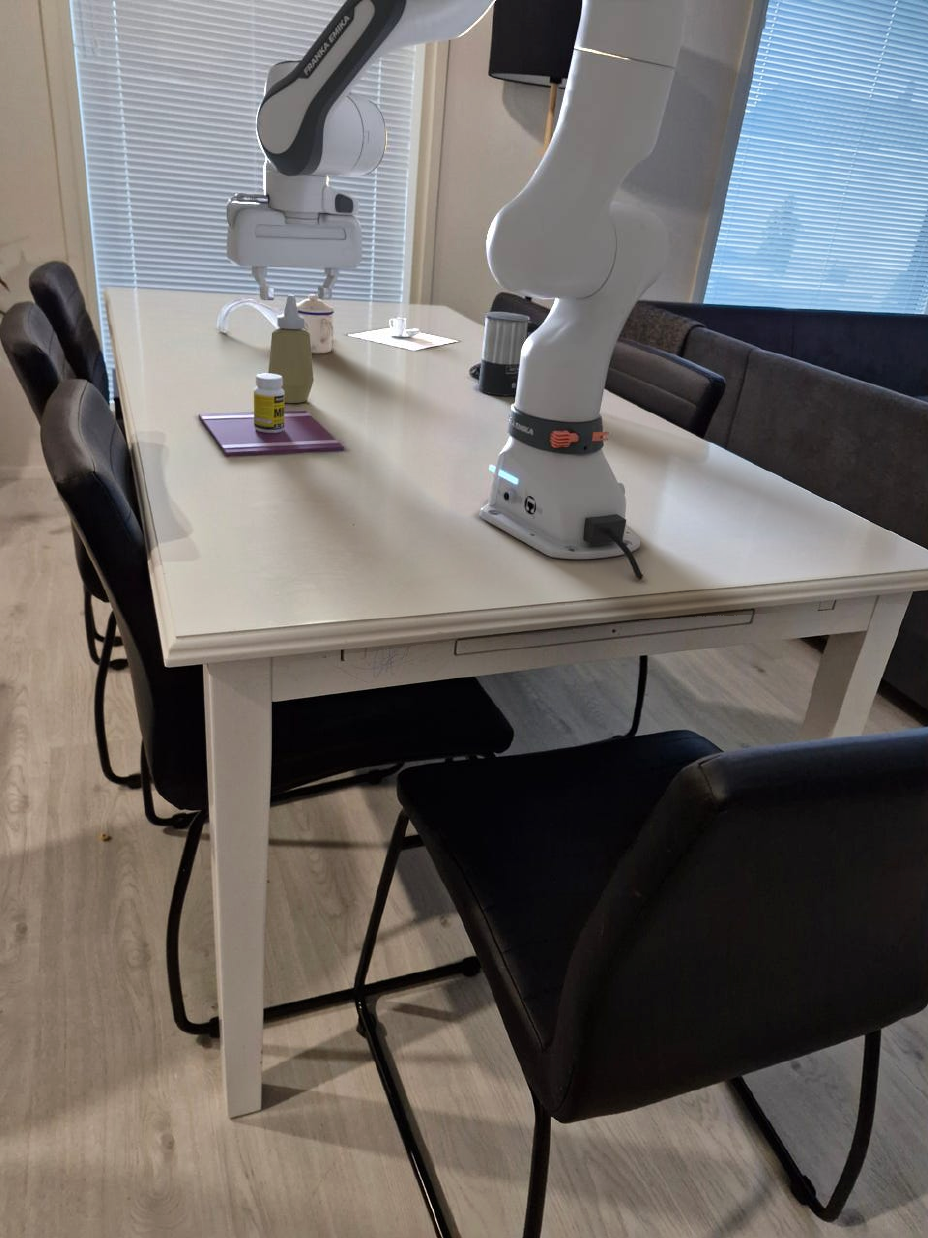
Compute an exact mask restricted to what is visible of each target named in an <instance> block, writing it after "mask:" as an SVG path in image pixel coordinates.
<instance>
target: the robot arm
mask: <svg viewBox="0 0 928 1238" xmlns="http://www.w3.org/2000/svg"><path fill="white" fill-rule="evenodd" d="M495 1H496V0H345V1H344V3H343V5H342V6H341V7H340V8H339V10H337V12H336V13H335V15H333V17H332V19H331V20H330V21H329V23H328V24H327V26H325V28H324V29H323V30H322V32H321V33H320V35H319V36H318V37H317V38H316V40H315V41H314V43H313V44H312V45H311V46H310V47H309V49H308V50H307V52H306V53H305V55H304V56H303V57H302V59H299V60H284V61H281V62H280V61H279V62H278V63H275V64H274V65H273V66H271V67H270V68H269V70H268V72H267V74H266V78H265V84H264V90H263V98H262V100H261V102H260V104H259V107H258V110H257V115H256V120H255V130H256V136H257V141H258V143H259V146H260V148H261V150H262V153H263V154H264V156H265V162H264V165H263V190H264V191H263V193H264V194H261V193H260V194H259V193H253V194H248V193H244V192H243V193H242V192H240V193H236V194H235V196H232V197H231V198H230V199H228V202H227V203H226V209H225V210H226V221H227V223H228V226H227V235H226V257H227V259H228V260H229V262H230V263H231V264H232V265H233V266H238V267H241V268H243V267H246V268H251V275H252V276H253V278H254V280H255V281H256V284H257V285H258V287H259V298H260V300H262V301H274V300H275V295H274V294H275V287H274V286H273V287H272V286H270V285H269V284H268V283H267V280H266V278H265V276H267V275H268V268H314V269H315V268H321V269H323V271H324V272H323V273H324V274H325V275H326V277H325V279H324V281H323V283H322V285H317V292H318V293H317V296H318V300H321V301H331V300H332V298H333V288H334V286H335V284H336V283H337V281H338V279H339V277H340V269H357V268H358V267H359V266H360V264H361V262H362V259H363V233H362V225H361V223H360V221H359V219H358V218H357V216H355V215H358V214H359V211H360V200H358V199H357V198H355V197H353V196H351V195H349V194H347V193H344V192H343V191H341V190H339V189H336V188H334V187H332V186H330V185H329V176H333V177H338V176H339V177H340V176H341V177H342V176H343V177H359V176H360V177H361V176H364V175H369V174H371V173H372V172H374V171H375V170H376V169H377V168H378V167H379V165H380V164H381V162H382V160H383V158H384V155H385V153H386V150H387V149H386V148H387V142H388V141H387V139H388V134H387V133H388V131H387V126H386V122H385V119H384V116H383V114H382V112H381V110H380V108H379V107H378V106H377V104H375V103H374V102H373V101H372V100H369V99H367V98H365V97H363V96H361V95H359V94H357V93H355V92H352V90H353V89H354V88H355V86H356V85H357V84H358V83H359V82H360V80H361V79H362V78H363V77H364V75H365V74H366V73H367V72H368V70H369V69H370V68H371V67H372V66H373V65H374V64H375V63H377V61H379V60H380V59H382V58H383V57H385V56H386V55H388V54H390V53H393V52H395V51H398V50H400V49H403V48H406V47H408V48H409V47H411V46H417V45H420V44H422V45H423V44H429V43H436V42H445V41H450V40H454V39H457V38H460V37H461V36H463V35H465V33H467V32H468V31H469V30H471V29H472V28H473V27H474V26H475V25H476V24H477V23H478V22H479V21H481V19H482V18H483V17H484V16H485V15H486V14H487V12H488V11H489V10H490V8H491V7H492V6H493V4H494V3H495ZM581 5H582V6H581V14H580V20H579V25H578V29H577V34H576V39H575V42H574V49H573V53H572V58H571V62H570V67H569V72H568V77H567V80H566V81H567V82H566V86H565V90H564V93H563V98H562V103H561V106H560V107H561V108H560V111H559V115H558V120H557V123H556V125H555V129H554V131H553V135H552V138H551V140H550V142H549V145H548V146H547V149H546V151H545V153H544V154H543V157H542V159H541V161H540V163H539V165H538V166H537V168H536V170H535V171H534V173H533V175H532V176H531V177H530V180H529V181H528V182H527V183H526V184H525V186H524V187H523V188H522V190H520V192H519V193H518V194H517V195H516V196H515V197H514V198H513V199H512V200H510V201H509V202H508V203H506V204H505V205H504V206H502V207H501V208H500V209H499V211H498V212H497V214H496V215H495V216H494V218H493V220H492V222H491V224H490V227H489V230H488V234H487V239H486V258H487V263H488V267H489V270H490V272H491V274H492V277H493V278H494V280H495V281H496V283H497V284H498V285H499V286H500V287H501V288H502V289H503V290H506V291H508V292H510V293H513V294H518V295H520V296H523V297H528V298H532V299H536V300H554V302H553V305H552V307H551V309H550V311H549V313H548V315H547V317H546V318H545V320H544V321H543V322H542V324H541V325H540V326H539V328H538V329H537V330H536V331H534V332H533V333H532V334H531V335H530V336H529V335H528V337H526V341H525V343H524V345H523V348H522V351H521V358H520V367H519V375H518V383H517V391H516V395H515V400H514V403H512V404H511V407H510V412H509V414H508V420H507V421H508V425H507V433H508V434H509V438H508V439H507V442H506V443H505V445H504V447H503V448H502V450H501V451H500V452H499V454H498V456H497V459H496V463H495V465H493V464H489V467H488V470H489V471H491V472H492V473H493V478H492V483H491V487H490V493H489V496H488V497H489V498H488V501H487V502H488V503H487V504H485V505H483V506H481V508H480V511H479V517H480V518H481V519H483V520H484V521H486V522H488V523H489V524H492V525H493V526H495V527H497V528H499V529H501V530H502V531H503V532H505V533H507V534H509V535H511V536H512V537H514V538H515V539H517V540H520V542H523V543H525V544H526V545H528V546H530V547H532V548H533V549H535V550H537V551H539V552H540V553H541V554H543V555H545V556H548V557H550V558H556V559H563V560H595V559H604V558H612V557H617V556H623V555H625V556H626V558H627V560H628V562H629V564H630V566H631V568H632V570H633V572H634V575H635V578H637V580H643V578H644V574H643V573H642V571H641V569H640V567H639V564H638V562H637V559H636V558H635V556H634V555H633V552H635V551H636V550H638V549H639V548H640V546H641V545H640V544H641V539H640V538H639V537H638V535H636V534H635V533H634V532H633V531H632V530H631V528H629V527H628V526H627V525H626V524H627V519H626V514H627V499H626V487H625V485H624V484H623V483H622V482H618V480H617V477H616V476H615V474H614V472H613V470H612V467H611V466H610V463H609V461H608V460H607V458H606V456H605V454H604V451H603V447H604V445H605V444H604V442H605V441H609V438H607V437H606V438H605V437H604V436H608V435H610V431H604V426H603V417H602V415H601V409H602V403H603V398H604V391H605V386H606V381H607V377H608V373H609V367H610V364H611V363H610V362H611V359H612V356H613V352H614V349H615V347H616V345H617V341H618V339H619V337H620V335H621V332H622V330H623V329H624V326H625V324H626V323H627V320H628V318H629V317H630V315H631V313H632V311H633V309H634V308H635V306H636V304H637V303H638V301H639V300H640V299H641V297H642V296H643V295H644V294H645V292H647V290H648V289H650V288H651V286H653V285H654V284H655V283H656V282H657V281H658V280H659V278H660V277H661V275H662V274H663V272H664V271H665V268H666V266H667V263H668V259H669V253H670V240H669V239H670V238H669V234H668V230H667V228H666V226H665V224H664V223H663V221H662V219H661V218H660V217H659V216H658V215H657V214H655V213H653V212H652V211H649V210H648V209H645V208H644V207H641V206H638V205H636V204H634V203H631V202H629V201H621V200H614V199H615V197H616V195H617V192H618V190H619V189H620V187H621V185H622V184H623V183H624V181H625V179H626V178H627V177H628V175H630V173H631V172H632V170H634V168H635V167H637V166H638V165H639V164H641V163H642V162H644V161H645V160H646V159H647V158H648V157H649V156H650V155H651V154H652V152H653V150H654V148H655V147H656V145H657V141H658V137H659V134H660V130H661V127H662V122H663V119H664V114H665V111H666V107H667V103H668V98H669V94H670V90H671V87H672V83H673V79H674V77H675V72H676V68H677V64H678V60H679V56H680V51H681V46H682V41H683V36H684V31H685V26H686V19H687V13H688V7H689V0H582V4H581Z"/></svg>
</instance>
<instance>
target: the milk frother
mask: <svg viewBox="0 0 928 1238" xmlns="http://www.w3.org/2000/svg"><path fill="white" fill-rule="evenodd" d="M484 317H485V319H484V322H485V323H484V330H483V341H482V351H481V362H480V363H478V364H477V363H476V364H474V365H473V366H471V367H470V368H469V370H468V375H469V376H470V377H471V378H472V379H475V380H478V384H477V386H476V388H477V390H479V391H480V392H483V393H486V394H489V395H495V396H502V397H503V396H504V397H507V396H508V397H509V396H516V391H517V383H518V375H519V367H520V358H521V351H522V348H523V345H524V343H525V341H526V340H527V334H528V337H529V336H530V335H531V334H532V333H533V332H534V331H536V330H537V329H538V328H539V327H540V326H539V325H538V324H537V323H535V322H532V321H530V320H531V317H529V316H528V315H525V314H522V313H516V312H508V311H489V312H484Z"/></svg>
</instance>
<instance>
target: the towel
mask: <svg viewBox="0 0 928 1238" xmlns="http://www.w3.org/2000/svg"><path fill="white" fill-rule="evenodd" d="M198 418H199V420H200V421H201V422H202V424H203V425H204V426H205V428H206V429H207V431H208V432H209V433H210V435H211V436H212V438H213V439H214V440H215V442H216V443H217V445H218V446H219V448H220V449H221V451H222V452H223V453H224V455H225V456H226V457H238V456H258V455H259V456H260V455H279V454H280V455H281V454H297V453H317V452H318V453H319V452H320V453H321V452H336V451H337V452H339V451H344V450H345V446H344V445H343V444H342V443H341V442H340V440H338V439H336V438H335V436H333V435H332V434H331V433H330V432H329V431H328V429H326V428H325V427H324V426H323V425H322V424H320V422H319V421H318V420H316V419H315V418H314V417H313V416H312V414H311V413H310V412H308V411H307V410H284V430H283V431H282V432H279V433H263V432H259V431H257V430H255V428H254V411H249V412H247V411H245V412H217V413H216V412H214V413H198Z"/></svg>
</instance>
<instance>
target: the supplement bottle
mask: <svg viewBox="0 0 928 1238" xmlns="http://www.w3.org/2000/svg"><path fill="white" fill-rule="evenodd" d="M282 384H283V383H282V376H280V375H277V374H268V373H267V372H266V373H265V372H264V373H258V374H256V376H255V385H256V387H255V388H254V389H253V412H254V428H255V430H257V431H259V432H263V433H279V432H282V431H283V430H284V411H285V403H286V402H285V393H284V390H283V389H282V388H281V387H282Z"/></svg>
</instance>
